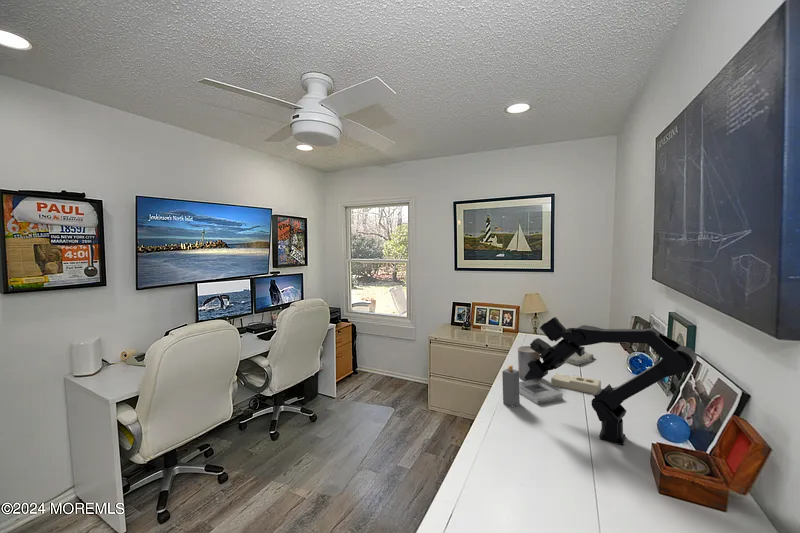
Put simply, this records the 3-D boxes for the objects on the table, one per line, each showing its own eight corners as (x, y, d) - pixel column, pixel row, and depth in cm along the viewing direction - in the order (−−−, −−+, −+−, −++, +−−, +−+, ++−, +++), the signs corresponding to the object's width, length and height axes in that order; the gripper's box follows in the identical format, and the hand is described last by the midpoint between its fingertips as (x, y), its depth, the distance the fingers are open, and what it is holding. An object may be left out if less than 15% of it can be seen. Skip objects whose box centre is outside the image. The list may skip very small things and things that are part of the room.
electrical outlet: (555, 371, 152) (601, 380, 140) (555, 380, 152) (601, 389, 140) (551, 376, 146) (598, 386, 135) (551, 385, 146) (598, 395, 135)
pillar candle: (537, 373, 160) (535, 343, 159) (543, 381, 150) (542, 348, 149) (516, 374, 161) (515, 343, 160) (521, 382, 151) (520, 349, 150)
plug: (519, 403, 130) (518, 365, 129) (513, 407, 127) (512, 368, 126) (509, 399, 133) (508, 363, 133) (503, 403, 130) (502, 366, 130)
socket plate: (562, 399, 132) (562, 393, 132) (537, 404, 129) (537, 398, 128) (535, 384, 147) (535, 379, 147) (512, 388, 144) (511, 383, 144)
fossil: (599, 360, 178) (569, 350, 193) (599, 352, 177) (569, 343, 192) (576, 369, 168) (546, 358, 183) (576, 360, 168) (546, 350, 183)
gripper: (555, 328, 125) (528, 351, 134) (532, 338, 113) (503, 363, 121) (578, 352, 120) (548, 375, 128) (556, 366, 107) (524, 390, 116)
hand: (531, 375), depth 124 cm, fingers open, 9 cm apart
